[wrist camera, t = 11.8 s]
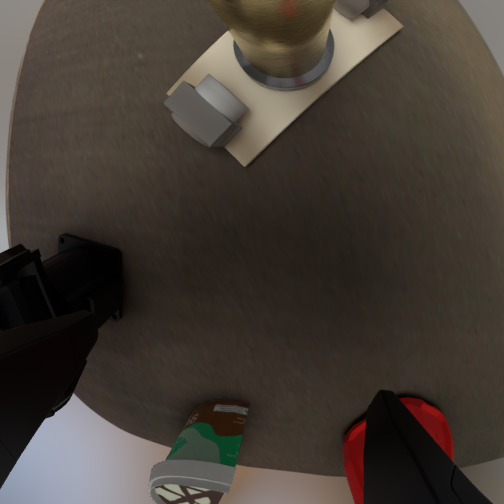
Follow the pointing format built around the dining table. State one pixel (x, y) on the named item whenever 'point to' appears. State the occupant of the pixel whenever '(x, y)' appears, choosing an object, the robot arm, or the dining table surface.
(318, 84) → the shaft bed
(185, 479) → the food container
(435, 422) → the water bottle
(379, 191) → the dining table surface
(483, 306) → the dining table surface
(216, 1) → the metal capped yellow cylinder
